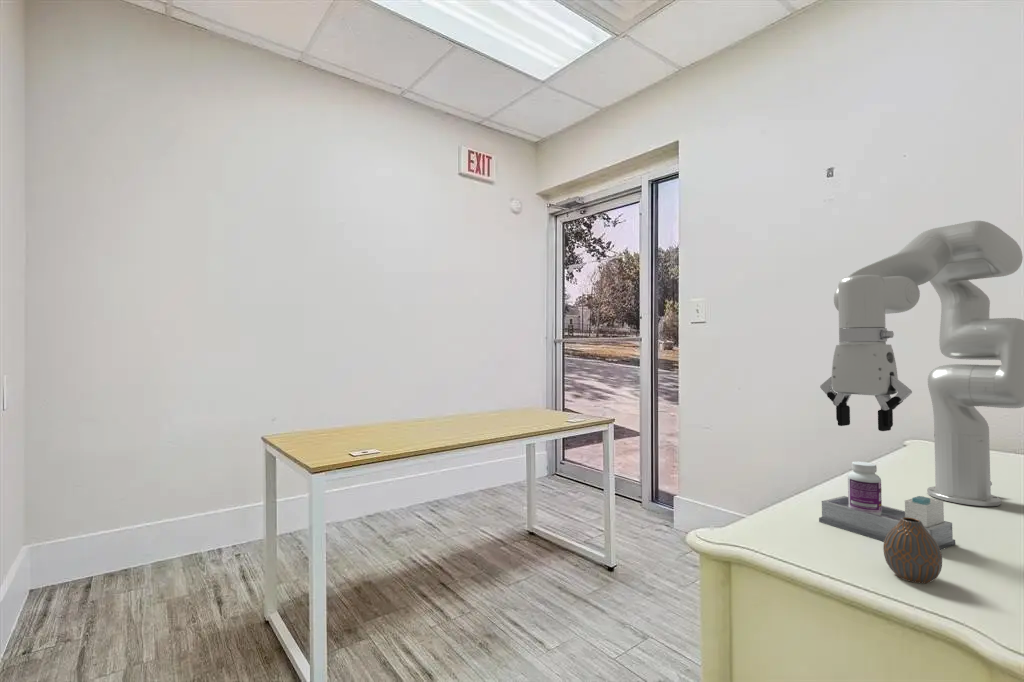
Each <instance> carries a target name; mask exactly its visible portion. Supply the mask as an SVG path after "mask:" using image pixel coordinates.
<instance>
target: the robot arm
mask: <svg viewBox="0 0 1024 682" xmlns="http://www.w3.org/2000/svg"><path fill="white" fill-rule="evenodd" d="M1023 257H1024V256H1023V252H1022V248H1021V246H1020V245H1019V244H1018V242H1017V241H1016V240H1015V239H1014V238H1013V237H1011V236H1010V234H1008V233H1006V232H1005V231H1004V230H1003V229H1001V228H1000V227H998V226H996V225H995V224H993V223H990V222H988V221H984V220H971V221H966V222H962V223H961V222H959V223H957V224H956V223H955V224H951V225H946V226H939V227H933V228H930V229H928V230H925V231H923V232H921V233H919V234H918V235H917V236H915V237H914V238H913V239H912V240H911V241H909V242H908V243H907V244H906V245H905V246H904V247H902V248H901V250H899V251H898V252H897V253H895V254H892V255H889V256H888V257H885V258H882V259H881V260H878V261H876V262H874V263H871V264H869V265H866V266H864V267H862V268H859V269H857V270H856V271H854V272H852V273H851V274H850V275H848V276H845V277H844V278H841V280H840V281H839V282H838V286H837V287H836V289H835V291H834V294H833V305H834V307H835V309H836V310H837V312H838V344H836V345H835V349H834V352H833V359H832V366H831V376H830V377H829V378H828V379H826V380H825V381H824V382H823V383H822V384H820V390H822V391H823V393H824V394H825V395H826V397H827V398H828V399H829V400H830V401H831V402H832V404H833V405H834V406H835V414H836V421H837V426H839V427H845V426H849V425H850V424H851V413H850V412H851V407H850V405H848V402H849V400H850V398H851V396H852V395H859V396H860V395H861V396H874V397H875V400H877V403H878V405H879V406H880V409H878V410H877V428H878V429H877V430H878V431H879V432H887V431H891V430H892V427H893V426H894V422H893V421H894V418H893V417H894V414H893V413H894V412H893V410H895V409H897V407H898V406H900V405H901V404H902V403H903V402H904V401H905V400H906V399H907V398H908V397H909V396H910V395H911V394H913V391H912V389H910V388H909V386H906V384H905V383H903V382H902V381H900V380H899V378H898V376H899V375H898V370H897V369H898V368H897V362H896V357H895V353H894V350H893V346H892V344H888V343H887V342H888V339H893V338H894V336H895V335H894V334H895V333H894V331H893V330H888V329H887V328H886V314H887V315H888V314H900V313H905V312H908V311H910V310H912V309H913V308H914V307H915V306H917V304H918V303H919V300H920V295H921V293H920V292H921V291H920V287H919V286H921V285H924V284H926V283H928V282H929V283H930V284H931V285H932V287H933V289H934V290H935V292H936V294H937V295H938V298H939V299H940V303H941V304H940V309H941V313H940V321H939V322H940V324H939V325H940V326H939V339H938V342H939V345H938V346H939V351H940V353H941V354H942V355H943V356H944V357H946V358H950V359H954V360H955V359H956V360H966V361H967V360H968V361H969V360H972V361H973V360H977V361H981V360H982V361H984V360H985V361H986V360H987V361H990V360H991V361H992V360H993V361H994V360H995V361H1000V362H1001V363H1000V364H994V365H993V364H958V363H957V364H944V365H940V366H936V367H935V368H933V369H932V370H930V372H929V373H928V376H927V387H928V391H929V392H928V393H929V396H930V400H931V405H932V410H933V411H932V412H933V429H934V430H933V432H934V433H933V434H934V435H933V438H934V443H933V444H934V474H935V475H934V477H935V478H934V479H935V480H934V481H935V486H929V487H927V488H926V493H927V494H928V495H929V496H931V497H933V498H934V499H937V500H942V501H946V502H951V503H955V504H962V505H967V506H977V507H997V506H1000V505H1001V503H1002V500H1001V498H999V496H997V495H994V494H992V492H991V491H992V490H991V487H992V485H993V482H992V481H991V460H990V459H991V456H990V455H991V454H990V453H991V452H990V450H991V449H990V426H989V424H988V422H987V420H986V418H985V417H984V416H983V415H982V414H981V412H979V410H978V409H977V408H976V407H987V408H1001V409H1002V408H1003V409H1021V408H1024V319H1021V318H1017V317H1001V318H1000V317H999V318H997V317H996V318H990V310H991V308H990V304H991V300H990V298H989V296H988V295H987V294H986V293H985V291H983V290H982V289H981V288H979V286H978V285H976V284H974V283H973V282H971V280H982V279H992V278H999V277H1006V276H1009V275H1012V274H1015V272H1017V271H1018V270H1019V269H1020V268H1021V266H1022V263H1023ZM892 395H894V396H893V397H892Z"/></svg>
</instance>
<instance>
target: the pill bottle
mask: <svg viewBox="0 0 1024 682" xmlns="http://www.w3.org/2000/svg"><path fill="white" fill-rule="evenodd" d="M851 470H853V471H851V472H849V473H848V475H847V490H848V491H847V497H848V504H849V507H850V508H853V509H857V510H861V511H865V512H868V513H872V514H876V515H881V514H882V501H883V500H882V479H881V477H880V476H879V475H878V474H876V473H877V471H878V468H877V464H875V463H872V462H866V461H851Z"/></svg>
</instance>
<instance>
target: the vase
mask: <svg viewBox="0 0 1024 682" xmlns="http://www.w3.org/2000/svg"><path fill="white" fill-rule="evenodd" d="M882 550H883V556H884V559H885V562H886V564H887V565H888V567H889V568H890V570H891V571H892V572H893V573H894V574H895V575H896V576H897V577H899V578H900V579H903V580H905V581H908V582H912V583H917V584H929V583H931V582H933V581H934V580H936V579H937V578H938V577H939V575H940V574H941V571H942V568H943V556H942V555H943V554H942V550H940V548H939V546H938V544H937V542H936V541H935V539H934V538H933V537H932V536H931V535H930V533H929V532H928V531H927V530H926V529H925V527H924V526H923V524H922V522H921V521H920V520H918V519H915V518H909V517H903V518H901V519H900V521H899V523H898V524H897V525H896V526H895V527H893V528H892V529H891V530H890V531H889V532H888V533H887V535H886V537H885V540H884V541H883V549H882Z"/></svg>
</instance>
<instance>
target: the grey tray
mask: <svg viewBox="0 0 1024 682" xmlns="http://www.w3.org/2000/svg"><path fill="white" fill-rule="evenodd" d="M944 506H945V505H944V500H941V499H938V498H934V497H933V498H931V497H927V496H923V495H917V496H914V497H912V498H910V499H909V498H908V499H905V500H904V510H902V509H898V508H894V507H890V506H886V505H882V514H881V515H876V514H872V513H868V512H865V511H861V510H857V509H853V508H850V507H849V504H848V495H847V496H846V495H843V496H838V497H833V498H830V499H825V500H821V517H819V518H818V522H819V523H823V524H825V525H830V526H833V527H836V528H839V529H842V530H845V531H849V532H851V533H855V534H858V535H862V536H865V537H867V538H868V537H869V538H872V539H875V540H878V541H880V542H884V540H885V537H886V535H887V533H888V532H889V531H890V530H891V529H892V528H893V527H895V526H896V525H897V524H898V523H899V521H900V519H901V518H903V517H909V518H915V519H918V520H920V521H921V522H922V524H923V526H924V527H925V529H926V530H927V531H928V532H929V533H930V535H931V536H932V537H933V538H934V539H935V541H936V542H937V544H938V546H939V548H940V551H942V550H944V548H945V549H947V548H950V547H952V546H954V545H955V546H956V539H954V538H953V522H952V521H951V522H950V521H946V520H945V519H944V517H945V516H944V513H945V511H944V510H945V508H944Z"/></svg>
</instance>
